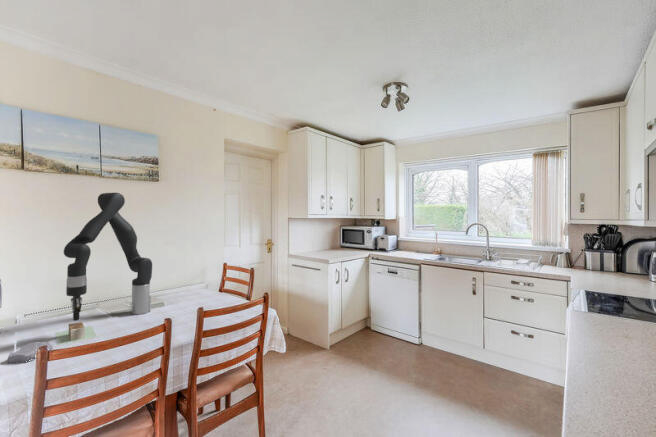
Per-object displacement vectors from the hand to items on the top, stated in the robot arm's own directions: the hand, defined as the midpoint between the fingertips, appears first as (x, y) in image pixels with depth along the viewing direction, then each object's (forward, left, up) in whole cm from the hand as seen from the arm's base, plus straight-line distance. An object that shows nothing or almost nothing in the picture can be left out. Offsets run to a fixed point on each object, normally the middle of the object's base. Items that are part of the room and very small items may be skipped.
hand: (76, 320), depth 146 cm
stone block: (+15, +13, -8) cm, 22 cm away
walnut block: (0, -2, -5) cm, 5 cm away
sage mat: (0, 0, -8) cm, 8 cm away
